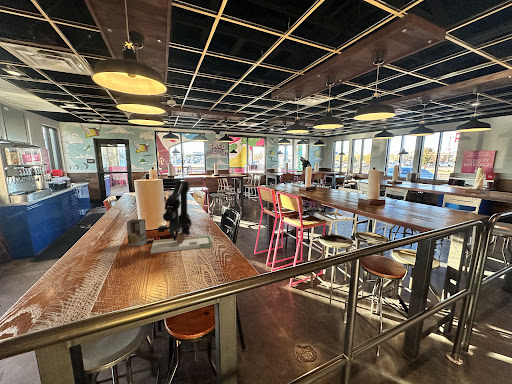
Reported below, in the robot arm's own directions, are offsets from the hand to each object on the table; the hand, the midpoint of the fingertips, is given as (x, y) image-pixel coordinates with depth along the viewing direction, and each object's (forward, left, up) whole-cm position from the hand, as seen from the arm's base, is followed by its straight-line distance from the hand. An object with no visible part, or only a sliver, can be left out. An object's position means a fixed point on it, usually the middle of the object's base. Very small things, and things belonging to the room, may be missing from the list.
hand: (174, 240), depth 135 cm
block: (+1, +3, 0) cm, 3 cm away
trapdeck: (+2, +5, -4) cm, 6 cm away
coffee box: (-11, -24, -4) cm, 26 cm away
